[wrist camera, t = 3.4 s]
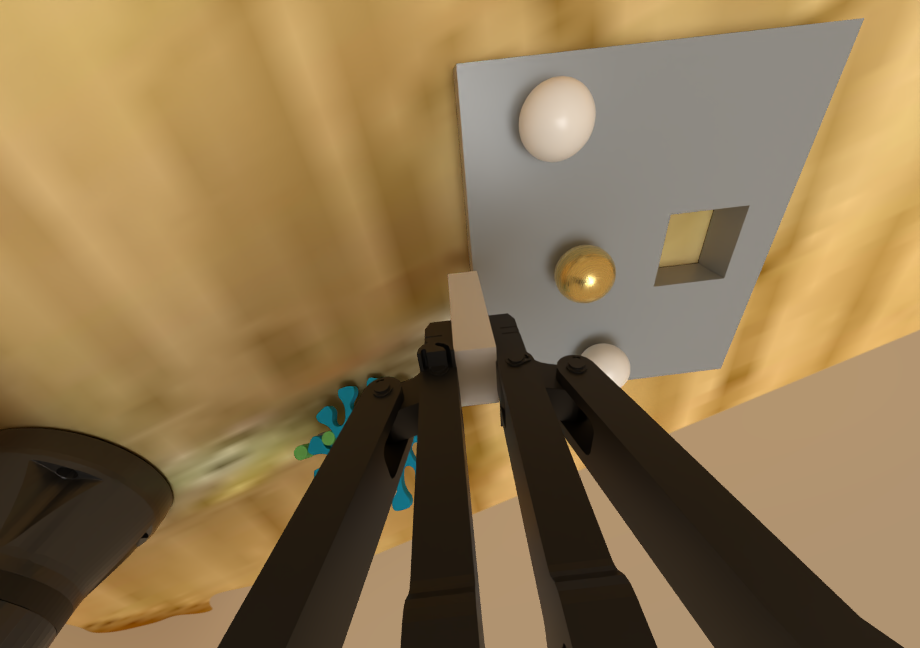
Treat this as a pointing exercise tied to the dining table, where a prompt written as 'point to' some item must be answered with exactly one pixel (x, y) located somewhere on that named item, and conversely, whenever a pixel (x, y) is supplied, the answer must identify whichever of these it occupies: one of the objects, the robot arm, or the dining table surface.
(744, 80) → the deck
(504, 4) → the dining table surface
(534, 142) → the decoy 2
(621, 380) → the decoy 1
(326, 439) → the gear
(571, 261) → the ball
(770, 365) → the dining table surface
